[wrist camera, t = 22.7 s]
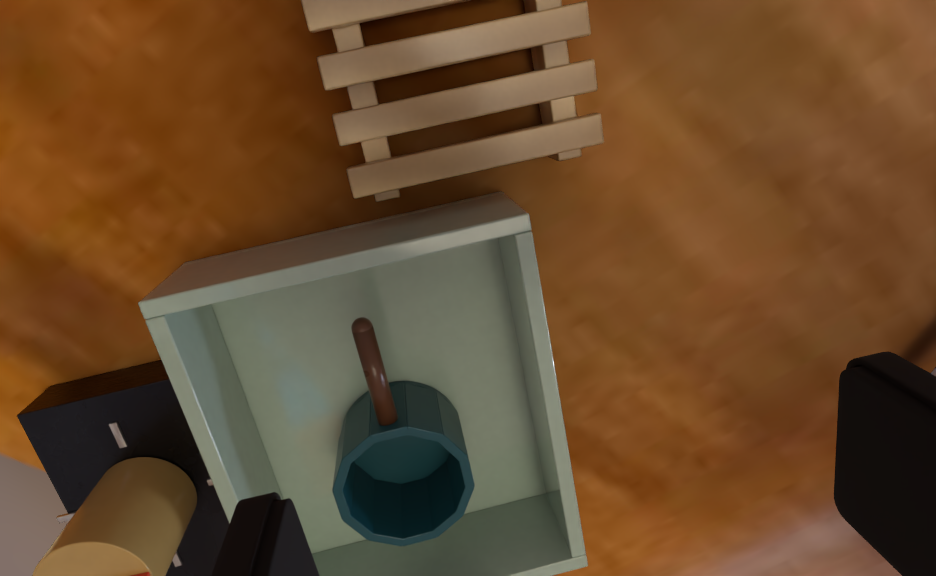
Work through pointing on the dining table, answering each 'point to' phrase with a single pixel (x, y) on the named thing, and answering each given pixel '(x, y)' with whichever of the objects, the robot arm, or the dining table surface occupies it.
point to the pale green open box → (405, 359)
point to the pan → (399, 456)
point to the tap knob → (125, 523)
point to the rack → (455, 89)
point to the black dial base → (125, 447)
